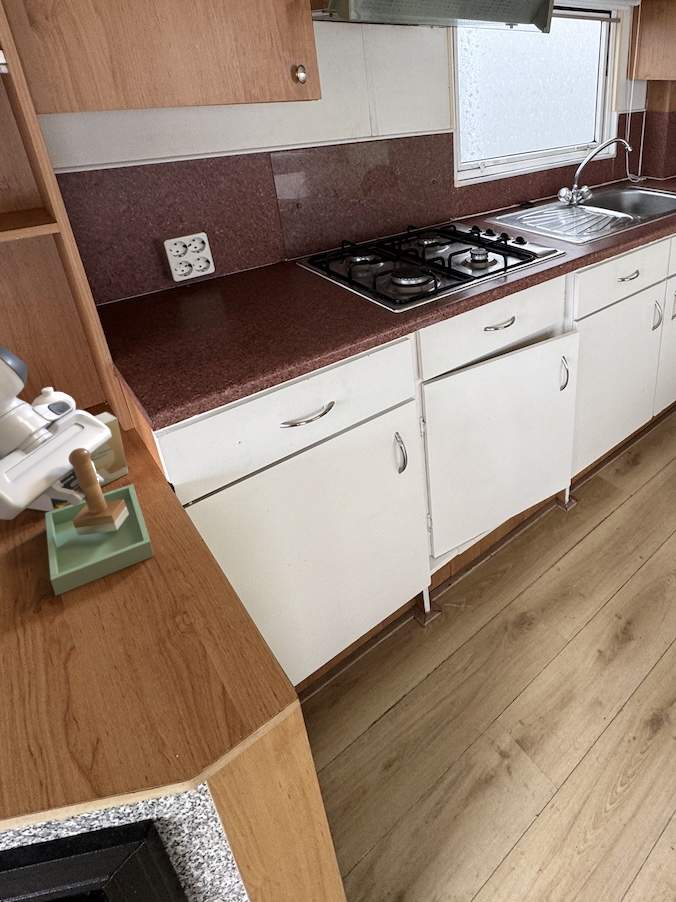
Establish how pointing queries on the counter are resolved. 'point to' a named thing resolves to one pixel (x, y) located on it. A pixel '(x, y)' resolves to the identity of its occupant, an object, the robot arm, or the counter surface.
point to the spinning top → (50, 397)
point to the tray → (94, 544)
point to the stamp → (94, 499)
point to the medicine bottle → (53, 504)
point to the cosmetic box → (110, 452)
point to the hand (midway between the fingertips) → (90, 492)
